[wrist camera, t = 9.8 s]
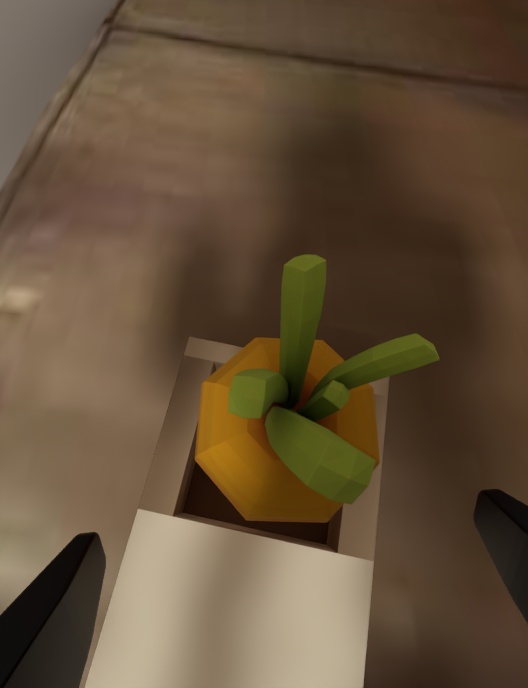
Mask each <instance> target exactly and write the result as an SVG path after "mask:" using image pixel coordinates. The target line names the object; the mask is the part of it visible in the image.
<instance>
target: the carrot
mask: <svg viewBox="0 0 528 688" xmlns="http://www.w3.org/2000/svg"><path fill="white" fill-rule="evenodd" d="M325 287H326V260H325V259H323V258H321V257H319V256H318V255H309V254H304V255H301V256H297V257H294V258H292V259H291V260H290V261H288V262H287V263H286V264H285V265H284V268H283V275H282V283H281V321H280V338H261V337H255V338H254V339H253V340H252V341H251V342H250V343H248V344H247V345H246V346H245V347H244V348H243V349H241V350H240V351H239V352H238V353H237V354H236V355H234V356H233V357H232V358H231V359H230V360H228V361H227V362H226V363H225V364H224V365H223V366H221V367H220V368H219V369H218V370H217V371H216V372H214V373H213V374H212V375H211V376H210V377H209V378H207V379H206V380H205V381H204V382H203V383H202V384H201V394H200V405H199V416H198V427H197V438H196V449H195V461H196V462H197V463H198V464H199V466H200V467H201V468H202V469H203V470H204V471H205V473H206V474H207V475H208V476H209V477H210V479H211V480H212V481H213V482H214V483H215V484H216V486H217V487H218V488H219V489H220V490H221V492H222V493H223V494H224V495H225V496H226V497H227V499H228V500H229V501H230V502H231V503H232V505H233V506H234V507H235V508H236V509H237V510H238V512H239V513H240V514H241V515H242V516H243V517H244V519H245V520H246V521H279V522H319V523H326V522H328V521H329V520H330V519H331V518H332V517H333V515H334V514H335V513H336V512H337V511H338V510H339V509H340V508H341V506H342V505H343V504H344V503H345V504H350V505H352V504H353V502H354V501H355V500H356V499H357V498H358V497H359V496H360V495H361V494H362V493H363V492H364V490H365V489H366V488H367V487H368V486H369V483H370V479H371V476H372V472H373V470H374V469H375V468H376V467H377V466H378V465H379V462H380V458H379V447H378V435H377V423H376V412H375V400H374V388H373V387H372V386H371V385H370V384H369V383H370V382H373V381H376V380H380V379H383V378H386V377H389V376H392V375H396V374H399V373H402V372H406V371H409V370H413V369H416V368H419V367H422V366H425V365H427V364H430V363H433V362H435V361H438V360H440V359H439V356H438V353H437V351H436V349H435V346H434V344H432V343H431V342H429V341H427V340H426V339H424V338H423V337H421V336H420V335H418V334H416V333H415V334H411V335H407V336H403V337H399V338H395V339H393V340H390V341H387V342H385V343H382V344H379V345H376V346H374V347H372V348H370V349H367V350H365V351H363V352H361V353H359V354H357V355H355V356H353V357H351V358H349V359H348V360H346V361H344V360H343V359H342V358H341V357H340V356H339V355H338V354H337V353H336V352H335V351H334V350H333V349H332V348H331V347H330V346H328V345H327V344H326V343H325V342H324V341H323V340H315V337H316V333H317V329H318V325H319V321H320V317H321V313H322V308H323V301H324V294H325Z"/></svg>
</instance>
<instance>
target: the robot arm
mask: <svg viewBox="0 0 528 688" xmlns="http://www.w3.org/2000/svg"><path fill="white" fill-rule="evenodd" d="M474 522H475V525H476V528H477V530H478V532H479V534H480V536H481V538H482V540H483V542H484V544H485V546H486V548H487V550H488V552H489V554H490V556H491V558H492V560H493V562H494V564H495V566H496V568H497V570H498V572H499V574H500V576H501V578H502V580H503V582H504V584H505V586H506V588H507V590H508V592H509V593H510V595H511V597H512V599H513V600H514V602H515V604H516V605H517V607H518V609H519V610H520V612H521V614H522V615H523V617H524V618H525V620H526V622H527V623H528V506H527V505H525V504H523V503H522V502H520V501H518V500H517V499H515V498H513V497H511V496H510V495H508V494H506V493H505V492H503V491H501V490H499V489H488V490H482V491H480V492H479V494H478V497H477V502H476V506H475V510H474ZM105 568H106V556H105V553H104V550H103V546H102V543H101V540H100V537H99V535H98V533H96V532H90V533H81V534H78V535H77V536H75V537H74V538H73V539H72V540H71V542H70V543H69V544H68V545H67V546H66V547H65V548H64V549H63V550H62V551H61V552H60V553H59V554H58V555H57V556H56V557H55V558H54V559H53V560H52V561H51V563H50V564H49V565H48V566H47V567H46V568H45V569H44V570H43V571H42V572H41V573H40V574H39V575H38V576H37V577H36V578H35V579H34V580H33V581H32V582H31V584H30V585H29V586H28V587H27V588H26V589H25V590H24V591H23V592H22V593H21V594H20V595H19V596H18V597H17V598H16V599H15V600H14V601H13V602H12V603H11V605H10V606H9V607H8V608H7V609H6V610H5V611H4V612H3V613H2V614H1V615H0V688H79V685H80V682H81V678H82V675H83V671H84V668H85V664H86V661H87V657H88V653H89V650H90V646H91V641H92V637H93V632H94V627H95V621H96V616H97V611H98V605H99V600H100V595H101V589H102V584H103V579H104V573H105Z"/></svg>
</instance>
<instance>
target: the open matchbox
mask: <svg viewBox="0 0 528 688" xmlns="http://www.w3.org/2000/svg"><path fill="white" fill-rule="evenodd" d="M243 348H244V347H239V346H234V345H229V344H224V343H219V342H214V341H209V340H204V339H199V338H194V337H189V339H188V343H187V346H186V349H185V353H184V356H183V359H182V363H181V366H180V369H179V373H178V376H177V379H176V383H175V386H174V390H173V393H172V396H171V400H170V403H169V406H168V410H167V413H166V416H165V420H164V423H163V426H162V430H161V433H160V437H159V440H158V443H157V447H156V450H155V453H154V457H153V460H152V463H151V467H150V470H149V473H148V477H147V480H146V484H145V487H144V490H143V494H142V497H141V500H140V504H139V507H138V510H137V514H136V517H135V520H134V524H133V527H132V531H131V534H130V537H129V541H128V544H127V547H126V551H125V554H124V557H123V561H122V564H121V567H120V571H119V574H118V578H117V581H116V584H115V588H114V591H113V594H112V598H111V601H110V604H109V608H108V611H107V614H106V618H105V621H104V625H103V628H102V631H101V635H100V638H99V641H98V645H97V648H96V651H95V655H94V658H93V661H92V665H91V668H90V672H89V675H88V678H87V682H86V685H85V688H363V683H364V671H365V660H366V648H367V636H368V624H369V612H370V601H371V589H372V577H373V565H374V554H375V542H376V530H377V518H378V507H379V495H380V483H381V471H382V460H383V448H384V436H385V424H386V413H387V401H388V389H389V377H386V378H383V379H380V380H376V381H373V382H370V383H369V384H370V385H371V386H372V387H373V388H374V400H375V412H376V423H377V435H378V447H379V458H380V462H379V465H378V466H377V467H376V468H375V469H374V470H373V472H372V476H371V479H370V483H369V486H368V487H367V488H366V489H365V490H364V492H363V493H362V494H361V495H360V496H359V497H358V498H357V499H356V500H355V501H354V502H353V504H352V505H350V504H345V503H344V504H343V505H342V506H341V508H340V509H339V510H338V511H337V512H336V513H335V514H334V515H333V517H332V518H331V519H330V520H329V528H328V536H327V544H326V545H325V544H321V543H316V542H312V541H308V540H303V539H299V538H294V537H290V536H285V535H281V534H276V533H272V532H267V531H263V530H258V529H254V528H249V527H245V526H240V525H236V524H231V523H227V522H222V521H218V520H213V519H209V518H204V517H200V516H195V515H191V514H186V513H183V510H184V506H185V502H186V499H187V495H188V491H189V487H190V483H191V479H192V475H193V471H194V467H195V464H196V461H195V449H196V438H197V427H198V416H199V405H200V394H201V384H202V383H203V382H204V381H205V380H206V379H207V378H209V377H210V376H211V375H212V374H213V373H214V372H216V371H217V370H218V369H219V368H220V367H221V366H223V365H224V364H225V363H226V362H227V361H228V360H230V359H231V358H232V357H233V356H234V355H236V354H237V353H238V352H239V351H240V350H241V349H243Z"/></svg>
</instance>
